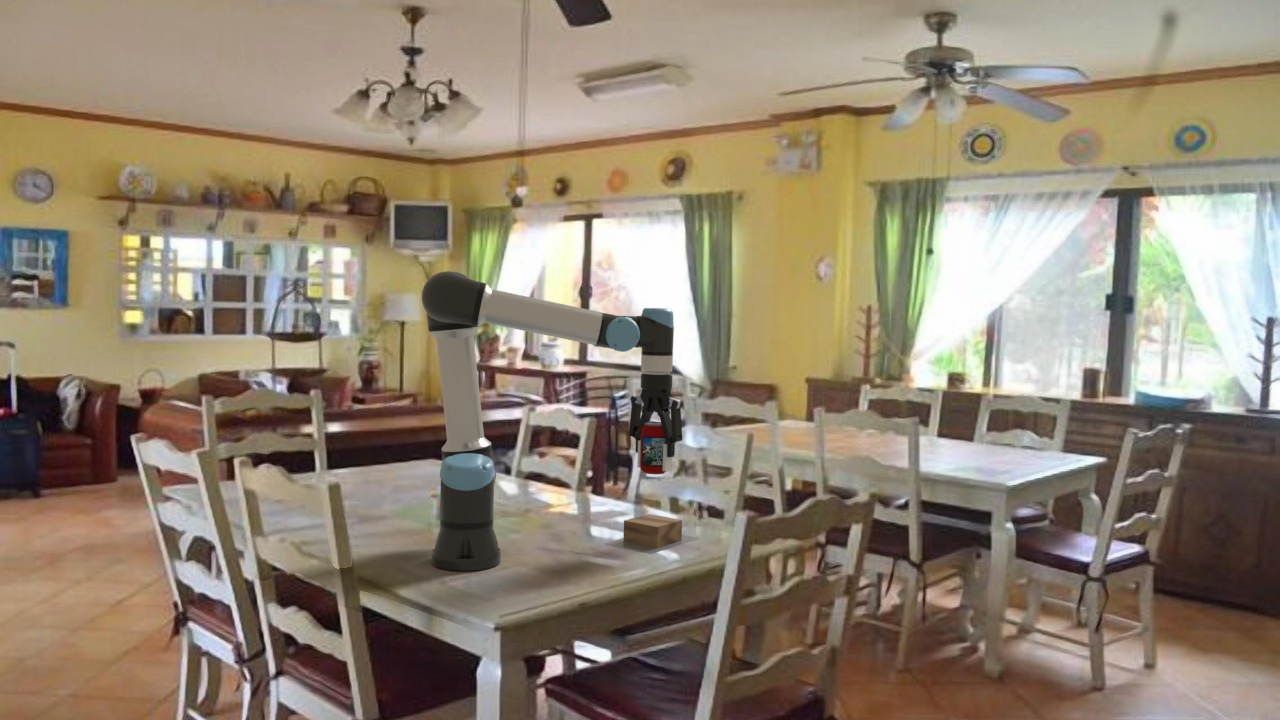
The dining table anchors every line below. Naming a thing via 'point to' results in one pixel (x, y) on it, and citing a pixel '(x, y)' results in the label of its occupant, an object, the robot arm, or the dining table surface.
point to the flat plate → (648, 549)
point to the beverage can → (652, 448)
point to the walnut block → (652, 530)
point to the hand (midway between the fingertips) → (654, 468)
